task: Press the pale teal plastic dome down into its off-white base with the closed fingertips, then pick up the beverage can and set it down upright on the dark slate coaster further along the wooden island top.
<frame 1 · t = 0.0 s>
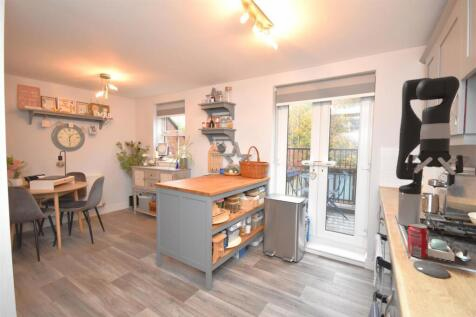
hand: (432, 184, 74), 29 cm above the counter, fingers open, 8 cm apart
dome: (438, 246, 82), point 4 cm above the counter, slide at 0.0 cm
coaster: (430, 269, 73), on the counter
beverage can: (417, 255, 83), on the counter
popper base: (438, 255, 82), on the counter
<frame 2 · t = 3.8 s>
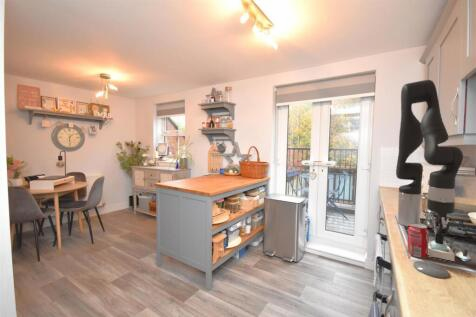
hand: (438, 243, 82), 5 cm above the counter, fingers closed
dome: (438, 248, 82), point 3 cm above the counter, slide at -0.6 cm, touching gripper
everything else where it was.
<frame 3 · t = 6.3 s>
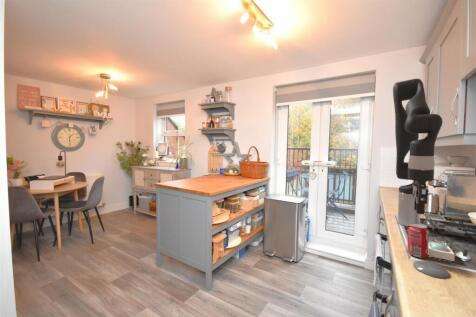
hand: (419, 211, 81), 17 cm above the counter, fingers open, 4 cm apart
dome: (438, 250, 82), point 2 cm above the counter, slide at -1.4 cm
everything else where it was.
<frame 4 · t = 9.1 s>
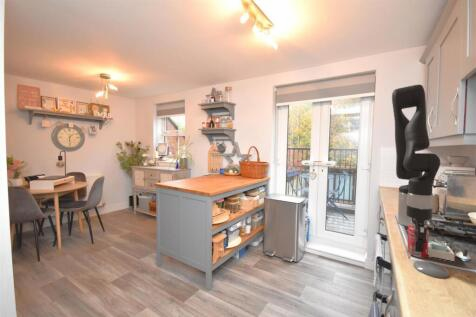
hand: (417, 247, 82), 3 cm above the counter, fingers closed on beverage can, 6 cm apart
beverage can: (417, 255, 83), on the counter, touching gripper
everything else where it was.
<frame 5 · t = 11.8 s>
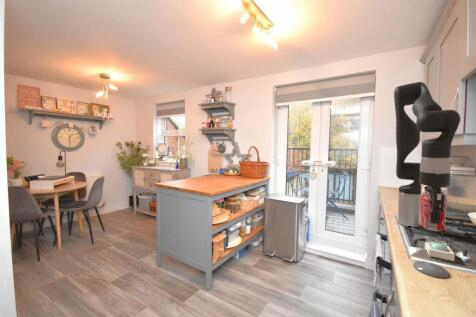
hand: (432, 219, 72), 18 cm above the counter, fingers closed on beverage can, 6 cm apart
beverage can: (431, 229, 72), point 14 cm above the counter, touching gripper
everything else where it was.
when the fingers open (5 cm above the counter, at t = 15.0 s): beverage can stays where it is, resting on coaster.
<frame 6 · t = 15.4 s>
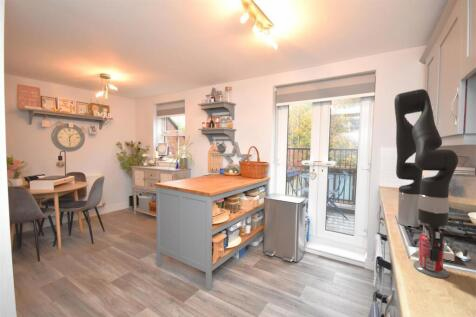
hand: (430, 254, 73), 5 cm above the counter, fingers open, 8 cm apart
beverage can: (430, 268, 73), resting on coaster
everything else where it was.
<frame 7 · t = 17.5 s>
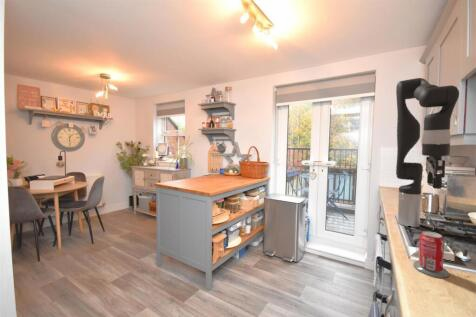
hand: (433, 185, 79), 28 cm above the counter, fingers open, 8 cm apart
nothing on the counter moved.
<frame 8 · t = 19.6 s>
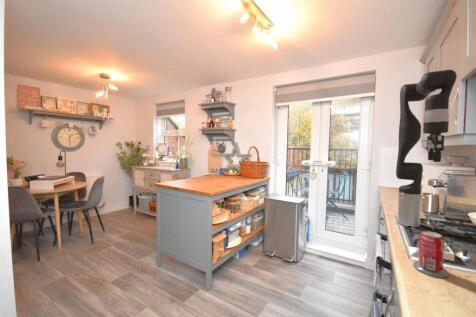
hand: (433, 161, 87), 36 cm above the counter, fingers open, 8 cm apart
nothing on the counter moved.
at the end: dome slide at -1.4 cm; beverage can 0.2 cm from the coaster (horizontally); beverage can tilted 0° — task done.
